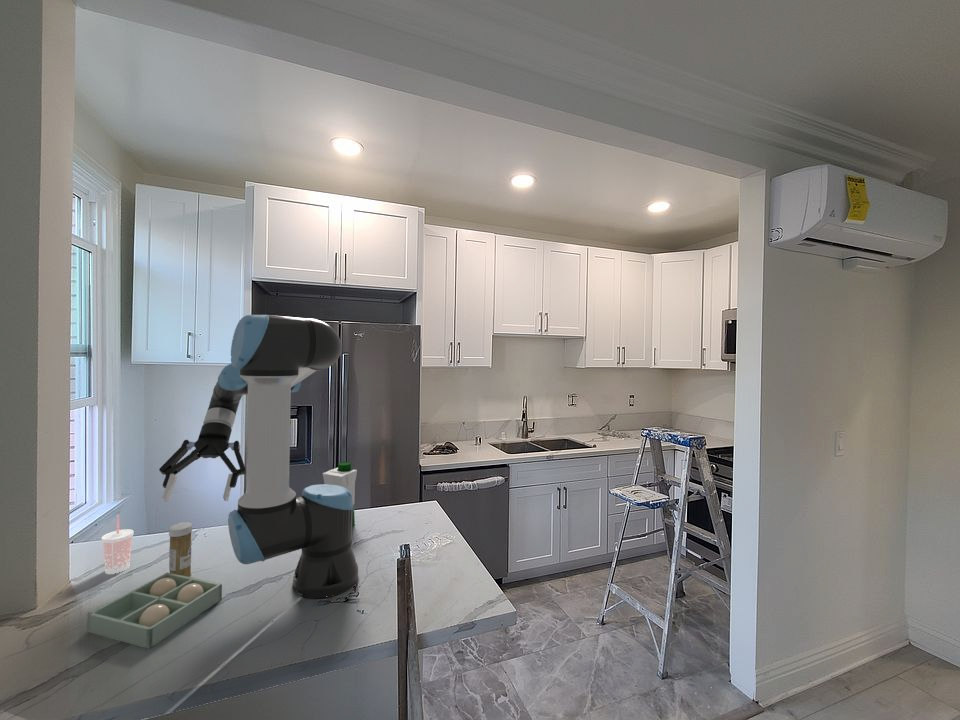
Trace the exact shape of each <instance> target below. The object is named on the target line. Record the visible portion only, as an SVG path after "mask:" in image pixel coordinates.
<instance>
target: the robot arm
mask: <svg viewBox="0 0 960 720" xmlns="http://www.w3.org/2000/svg"><path fill="white" fill-rule="evenodd" d="M341 353H342V342H341V339H340V335H338V333H337V332H336V330H335V329H334V328H333V327H331V325H329V324H327V323H326V322H324V321H322V320H319V319H316V318H309V317H306V318H305V317H293V316H283V315H282V316H281V315H271V314H247V315H244V316H243V317H241V319H239V320H238V322H237V324H236V327H235V329H234V333H233V336H232V339H231V347H230V362H231V363H229V364H227V365H225V366H224V367H223V368H222V370H221V371H220V373H219V375H218V377H217V381H216V383H215V385H214V388H213V389H212V393H211V394H212V395H211V397H210V401H209V405H208V408H207V411H206V413H205V416H204V420H203V422H202V423H203V425H202V426H201V429H200V432H199V435H198V438H197V440H196V441H189V440H188V439H184V440H183V442H182V444H181V445H180V447H179V448H178V449H177V450H176V451H175V452H174V453H173V454H172V455H171V456H170V457H169V458H168V459H167V460H166V462H164V463H163V465H161V467H160V468H159V469H158V470H159V472H160V473H161V474H162V475H165V477H164V480H163V481H162V482H163V483H162V487H163V488H164V492H163V494H162V498H161V499H162V500H163V501H164V502H165V503H169V502H170V499H171V496H172V493H173V489H174V488H175V487H174V486H175V484H176V481H177V478H178V477H177V476H176V475H177V474H178V473H180V472H181V471H182V470H184V469H185V468H187V467H188V466H189V465H191V464H192V463H193V462H195V461H197V460H199V459H201V458H202V459H210V458H211V459H216V458H218V457H219V458H220V459H221V460H222V461H223V463H224V464H225V465H226V467H227V468H228V470H229V471H230V472H231V473H228V476H227V480H226V484H225V488H224V492H223V495H222V499H223V501H225V502H228V501H229V499H230V498H229V497H230V494H231V490H232V488H236V486H237V482H238V478H239V477H240V476H242V475H243V476H244V475H246V476H245V477H246V479H245V492H244V494H243V495H241V496H240V497H239V499H238V500H237V509H234V510H233V511H230V512H229V513H228V519H227V523H228V524H227V525H228V533H229V538H230V542H231V546H232V549H233V552H234V556H235V558H236V559H237V561H238V562H239V563H241V564H242V565H250V564H255V563H259V562H265V561H267V560H270V559H273V558H275V557H280V556H282V555H286V554H289V553H292V552H296V551H299V550H301V553H300V556H299V560H298V562H297V564H296V568H295V570H294V573H293V579H292V587H293V590H294V591H295V592H297V594H300V595H301V597H303V598H307V599H323V598H324V597H325V598H327V597H326V596H330V597H333V596H332V595H334V596H338V595H340V594H342V593H344V592H346V591H348V590H349V589H351V588H352V587H353V586H354V585H355V583H357V581H358V578H359V566H358V563H357V559H356V557H355V552H354V550H353V545H352V543H353V542H352V540H353V539H352V537H353V525H352V512H353V502H352V494H351V492H350V491H349V490H348V489H347V488H345V487H342V486H337V485H329V484H325V483H323V484H312V485H309V486H306V487H304V488H303V490H302V492H301V496H297V493H296V491H295V490H293V488H291V487H290V453H291V451H290V450H291V445H290V443H291V408H292V407H291V402H292V400H291V398H292V397H291V396H292V394H291V393H297V392H299V390H300V388H301V386H302V381H303V380H305V379H306V378H308V377H309V376H311V375H312V374H314V373H315V372H319V371H320V372H321V371H324V370H326V369H329V368H330V367H332V366H333V365H334V364H335V363H336V362H337V361H338V359H339V358H340V356H341ZM245 395H247V404H246V405H247V407H246V408H247V413H246V415H247V417H246V466H245V462H244V460H243V457H242V455H241V452H240V450H241V444H240V442H239V440H235V441H234V442H229V441H230V438H231V434H232V429H233V426H234V424H235V420H236V416H237V412H238V409H239V405H240V403H241V400H242V397H243V396H245ZM193 448H194V449H193ZM229 448H230V449H231V451H233V452H234V455H235V458H236V461H237V464H238V466H239V468H238V469H237V468H236V467H235V465H234V464H233V462H232V461H231V459H230V458H229V457H228V456H227V454H226V453H225V452H226V451H227V450H228V449H229ZM192 449H193V450H192ZM190 450H192V451H191V452H190V453H189V454H188V455H187V453H188V452H189V451H190ZM185 455H187V456H185ZM325 598H324V599H325Z"/></svg>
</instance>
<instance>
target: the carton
mask: <svg viewBox="0 0 960 720" xmlns="http://www.w3.org/2000/svg"><path fill="white" fill-rule="evenodd" d="M162 578H172V579H173V580H175V582H176V585H177V587H176V588H174V589H173V590H171V591H169V592H167V593H166V594H164V595H162V596H160V597H158V596H153V595H149V592H150V589H151V587H152V585H153V584H154V583H155V582H156V581H158V580H160V579H162ZM192 583H196V584H199V585H201V586H202V588H203V591H204V594H202V595H200V596H199V597H197V598H196V599H194V600H193V601H191V602H189V603H184V602H180V601H177V595H178V593H179V592H180V590H181V589H182V588H183V587H185V586H186V585H188V584H192ZM222 594H223V585H222V583H220V582H215V581H210V580H205V579H201V578H197V577H192V576H191V577H187V576H182V575H177V574H172V573H170V572H165V573H163V574H162V575H159V576H157V577H156V578H154V579H152V580H150V581H148V582H147V583H145V584H143V585H141V586H139V587H136V588H135V589H133V590H131V591H129V592H127V593H125V594H123V595H121V596H120V597H117V598H116V599H114V600H112V601H110V602H109V603H107V604H105V605H103V606H101V607H98V608H97V609H95V610H93V611H91V612H89V613H87V631H86V632H87V633H90V634H94V635H98V636H101V637H105V638H108V639H113V640H117V641H120V642H124V643H127V644H131V645H135V646H139V647H142V648H145V649H151V648H152V647H154V646H155V645H156V644H158V643H160V642H161V641H162V640H163V639H165V638H167V637H168V636H170V635H171V634H173V633H174V632H175V631H177V630H178V629H180V628H182V627H183V626H185V625H186V624H187V623H189V622H190V621H192V620H193V619H195V618H196V617H198V616H199V615H201V614H202V613H204V612H205V611H207V610H208V609H210V608H211V607H212V606H214V605H215V604H217V603H218V602H219V603H220V601H221V600H222V599H223V598H222V596H223V595H222ZM155 604H164V605H166V606H167V607H168V608H169V611H170V615H169V616H167V617H166V618H164V619H162V620H161V621H159V622H158V623H156V624H154V625H153V626H151V627H147V626H143V625H139V619H140V617H141V615H142V613H143V612H144V611H145V610H146V609H147V608H149V607H150V606H152V605H155Z"/></svg>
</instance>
